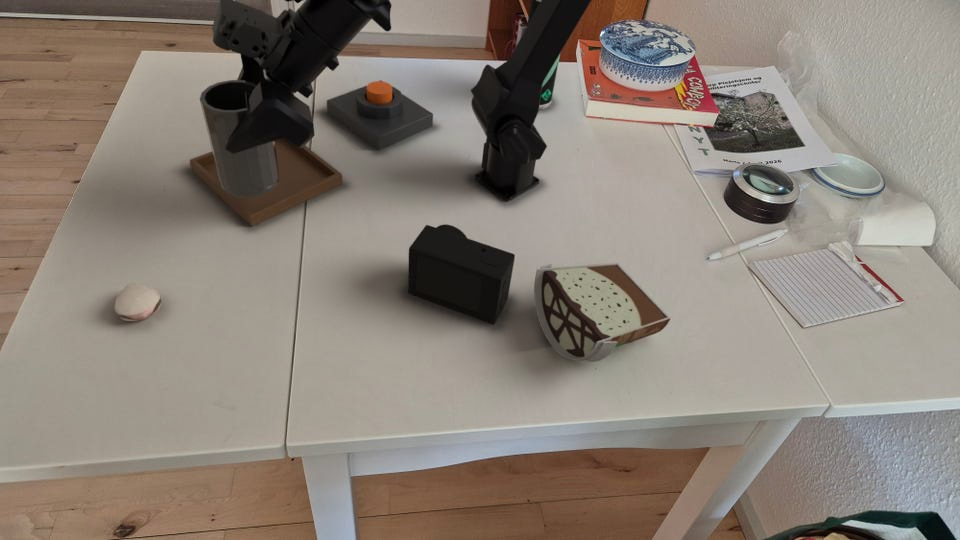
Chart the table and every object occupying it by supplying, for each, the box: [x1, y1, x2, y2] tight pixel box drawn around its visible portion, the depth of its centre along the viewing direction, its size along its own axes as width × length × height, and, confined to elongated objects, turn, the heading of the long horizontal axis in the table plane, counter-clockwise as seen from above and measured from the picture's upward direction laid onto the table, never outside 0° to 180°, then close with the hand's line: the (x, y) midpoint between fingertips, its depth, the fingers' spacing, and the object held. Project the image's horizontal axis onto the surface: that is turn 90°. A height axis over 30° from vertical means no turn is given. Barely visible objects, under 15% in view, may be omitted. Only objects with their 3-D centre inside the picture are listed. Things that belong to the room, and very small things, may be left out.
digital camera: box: [407, 224, 516, 325], centre depth 72 cm, size 10×5×7 cm, turn 68°
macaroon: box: [113, 283, 162, 322], centre depth 68 cm, size 4×5×2 cm
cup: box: [199, 79, 280, 197], centre depth 74 cm, size 7×7×11 cm
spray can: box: [526, 0, 561, 110], centre depth 99 cm, size 6×6×20 cm
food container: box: [533, 262, 672, 363], centre depth 70 cm, size 12×6×10 cm
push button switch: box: [326, 79, 434, 151], centre depth 96 cm, size 12×10×4 cm
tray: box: [189, 139, 344, 227], centre depth 85 cm, size 14×13×2 cm
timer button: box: [366, 80, 393, 104], centre depth 95 cm, size 4×4×2 cm
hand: (227, 132), depth 73 cm, fingers closed on cup, 7 cm apart
